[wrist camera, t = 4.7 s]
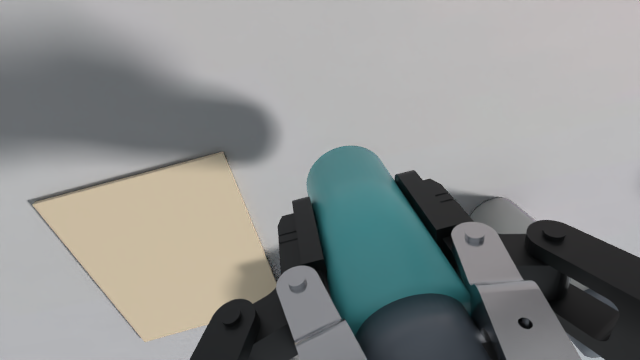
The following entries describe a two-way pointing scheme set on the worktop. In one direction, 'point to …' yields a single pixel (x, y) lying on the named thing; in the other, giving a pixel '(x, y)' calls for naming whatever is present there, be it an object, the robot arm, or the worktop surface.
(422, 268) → the marker teal
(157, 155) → the worktop surface
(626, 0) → the worktop surface
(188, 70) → the worktop surface
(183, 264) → the sketch pad
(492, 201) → the marker grey
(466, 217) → the robot arm
